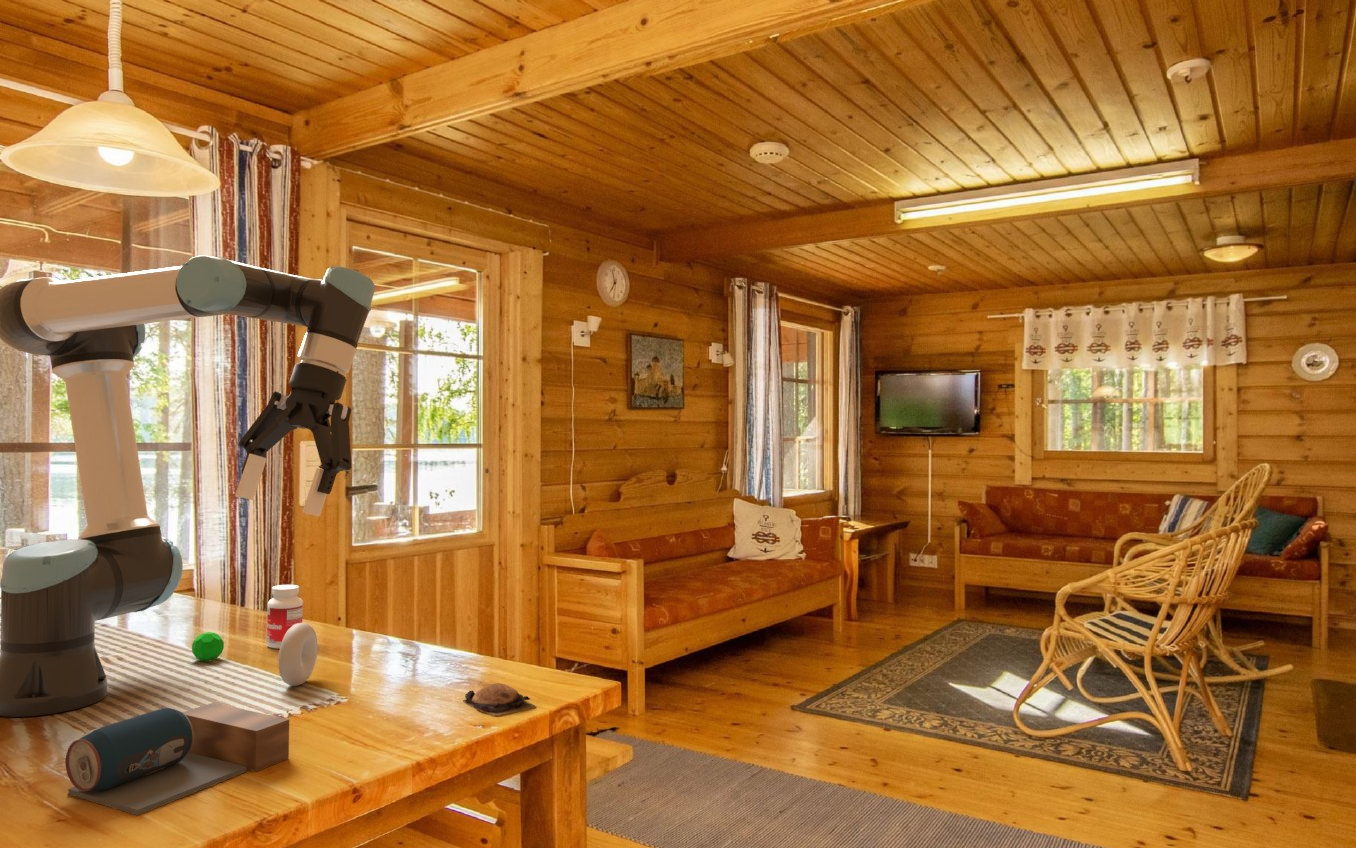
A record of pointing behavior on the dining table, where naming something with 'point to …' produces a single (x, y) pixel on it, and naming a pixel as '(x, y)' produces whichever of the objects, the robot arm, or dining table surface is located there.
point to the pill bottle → (282, 613)
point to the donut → (297, 654)
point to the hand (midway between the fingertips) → (276, 506)
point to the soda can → (129, 749)
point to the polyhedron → (207, 646)
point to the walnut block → (239, 736)
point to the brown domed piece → (498, 700)
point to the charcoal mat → (164, 784)
